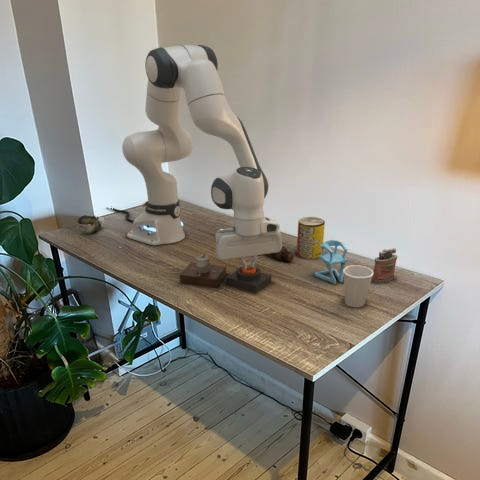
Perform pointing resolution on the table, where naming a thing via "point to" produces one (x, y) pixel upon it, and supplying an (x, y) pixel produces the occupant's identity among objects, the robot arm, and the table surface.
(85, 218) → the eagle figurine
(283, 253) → the bolt
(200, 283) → the dial base
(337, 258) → the chair
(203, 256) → the knob
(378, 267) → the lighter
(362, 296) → the dixie cup
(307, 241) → the beverage can
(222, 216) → the table surface
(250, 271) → the button
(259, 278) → the button box
